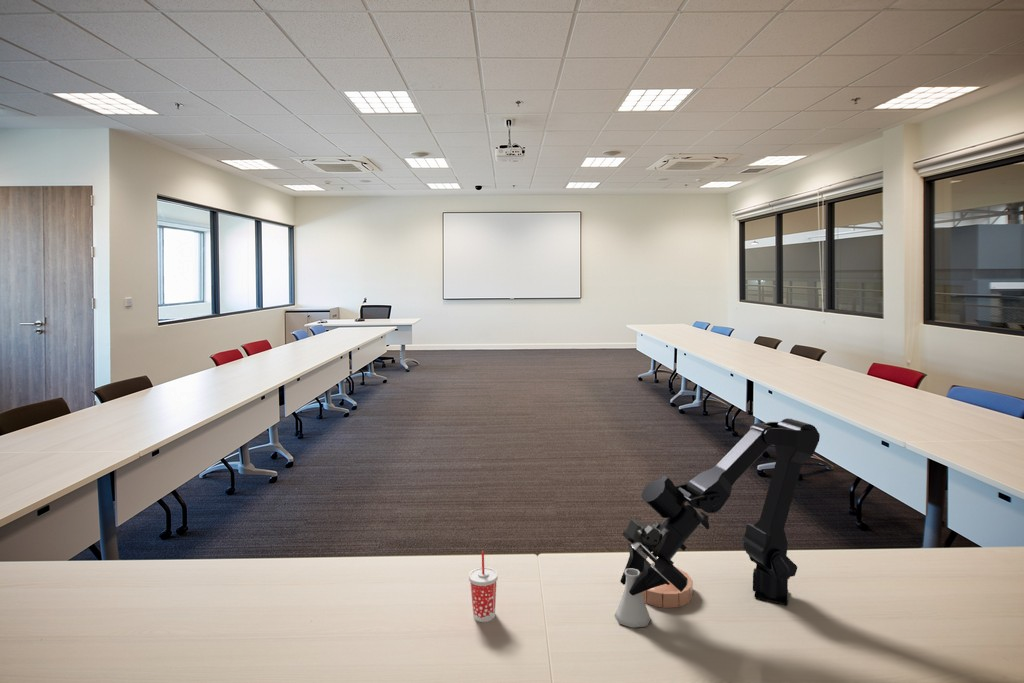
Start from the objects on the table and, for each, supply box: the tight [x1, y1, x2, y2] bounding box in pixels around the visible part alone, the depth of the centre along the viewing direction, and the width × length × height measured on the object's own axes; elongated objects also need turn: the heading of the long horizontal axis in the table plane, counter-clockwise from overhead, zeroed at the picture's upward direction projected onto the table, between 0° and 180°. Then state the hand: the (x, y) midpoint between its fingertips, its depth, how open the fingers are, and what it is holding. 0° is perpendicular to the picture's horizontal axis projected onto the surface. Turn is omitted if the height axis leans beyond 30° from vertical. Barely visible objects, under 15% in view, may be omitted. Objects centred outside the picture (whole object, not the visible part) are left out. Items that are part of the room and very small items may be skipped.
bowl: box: [640, 566, 694, 609], centre depth 120 cm, size 13×13×3 cm
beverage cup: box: [468, 550, 499, 623], centre depth 111 cm, size 6×6×14 cm
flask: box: [614, 568, 651, 628], centre depth 109 cm, size 7×7×10 cm
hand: (626, 588), depth 109 cm, fingers open, 4 cm apart
